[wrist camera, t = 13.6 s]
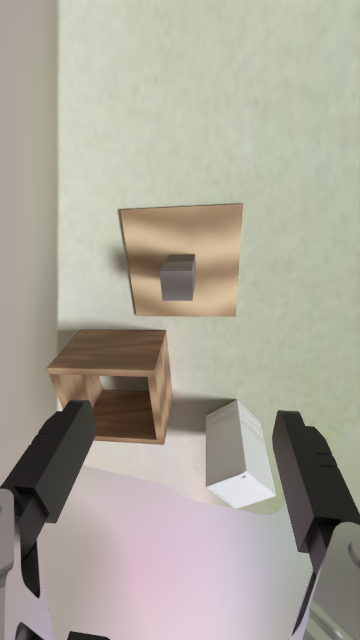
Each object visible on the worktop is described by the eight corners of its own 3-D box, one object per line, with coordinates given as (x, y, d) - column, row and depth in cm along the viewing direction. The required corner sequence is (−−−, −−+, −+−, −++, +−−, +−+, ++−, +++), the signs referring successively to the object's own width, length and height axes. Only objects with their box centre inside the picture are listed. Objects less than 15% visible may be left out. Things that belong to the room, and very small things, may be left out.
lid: (122, 209, 31) (97, 216, 24) (241, 203, 29) (252, 208, 22) (138, 313, 38) (122, 341, 31) (234, 313, 36) (241, 343, 29)
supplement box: (204, 414, 46) (203, 487, 35) (237, 398, 43) (247, 470, 32) (228, 436, 48) (234, 510, 37) (261, 421, 45) (278, 497, 34)
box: (80, 329, 40) (46, 367, 31) (166, 330, 38) (154, 370, 30) (98, 393, 46) (74, 439, 38) (172, 396, 45) (164, 444, 36)
